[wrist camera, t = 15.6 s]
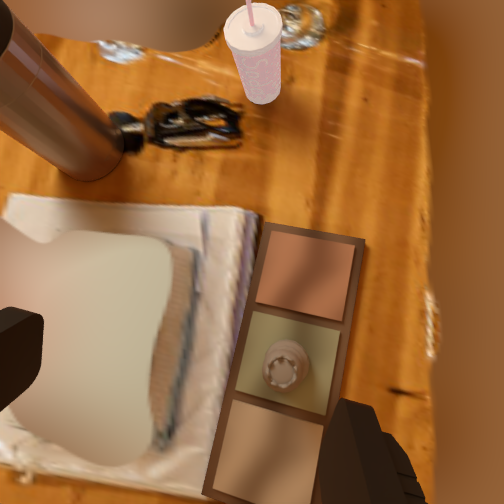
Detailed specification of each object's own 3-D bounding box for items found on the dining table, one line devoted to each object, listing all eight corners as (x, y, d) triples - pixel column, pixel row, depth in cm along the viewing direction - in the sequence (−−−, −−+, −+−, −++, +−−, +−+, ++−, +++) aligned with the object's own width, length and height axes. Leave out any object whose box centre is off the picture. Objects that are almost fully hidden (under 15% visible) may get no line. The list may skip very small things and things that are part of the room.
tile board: (204, 489, 32) (199, 496, 30) (266, 224, 37) (264, 220, 36) (315, 529, 30) (316, 538, 28) (363, 241, 35) (366, 238, 34)
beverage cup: (232, 101, 42) (198, -6, 29) (251, 64, 43) (228, -57, 30) (274, 115, 41) (260, 8, 27) (294, 75, 42) (289, -46, 28)
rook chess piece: (309, 339, 32) (310, 342, 25) (310, 387, 31) (312, 405, 24) (264, 338, 33) (253, 341, 25) (264, 385, 32) (252, 402, 24)
